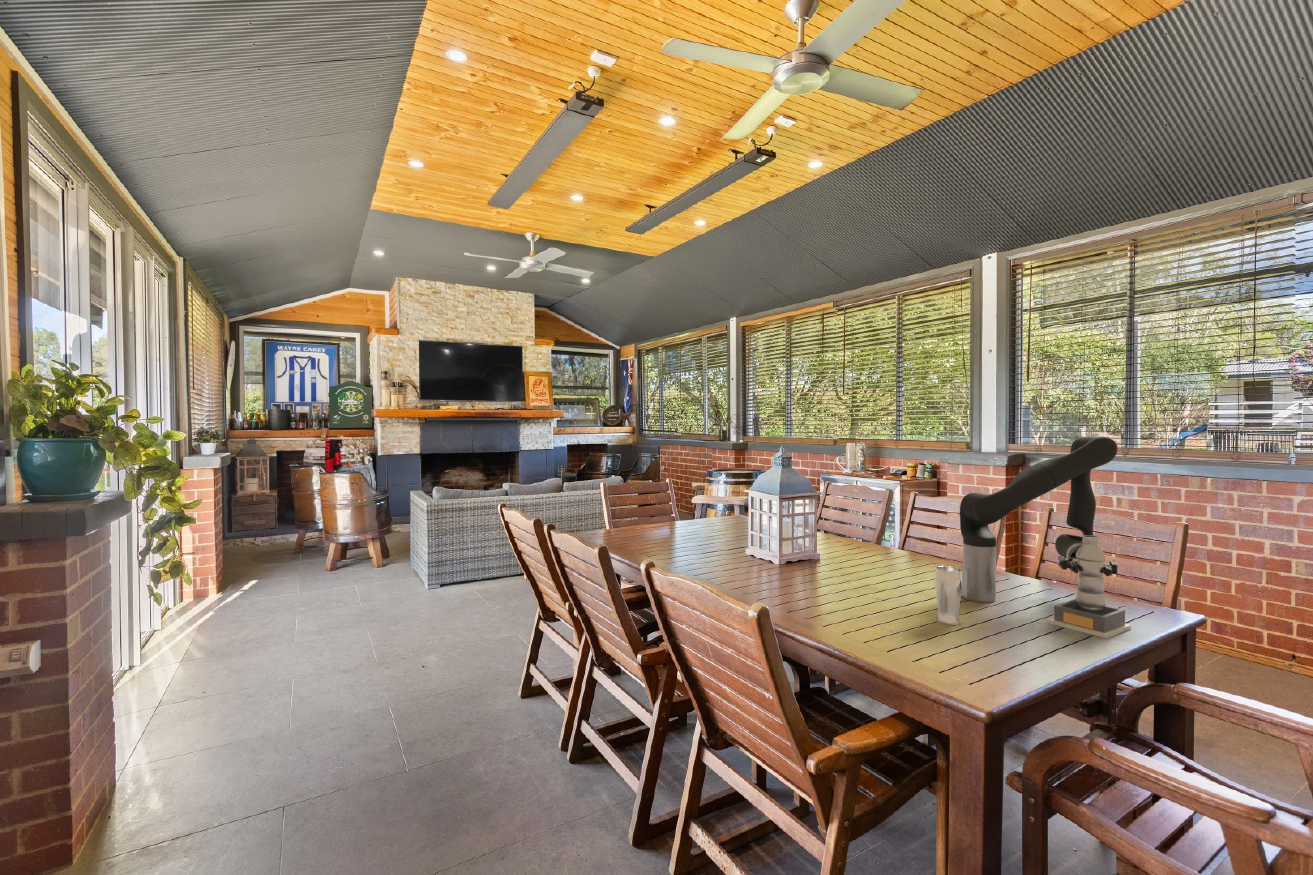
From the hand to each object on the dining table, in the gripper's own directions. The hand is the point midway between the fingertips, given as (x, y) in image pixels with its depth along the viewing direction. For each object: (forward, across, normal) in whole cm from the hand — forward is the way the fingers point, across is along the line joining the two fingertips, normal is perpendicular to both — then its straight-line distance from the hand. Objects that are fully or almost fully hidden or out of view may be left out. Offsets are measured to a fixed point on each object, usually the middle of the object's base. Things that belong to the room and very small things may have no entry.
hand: (1092, 571), depth 162 cm
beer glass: (+13, -34, +15) cm, 40 cm away
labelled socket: (-2, 0, +16) cm, 16 cm away
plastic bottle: (-2, 0, +11) cm, 11 cm away
